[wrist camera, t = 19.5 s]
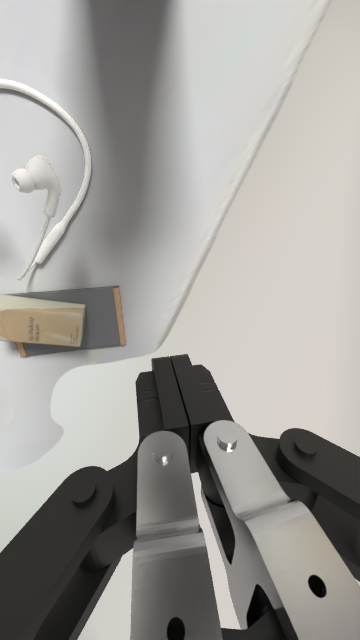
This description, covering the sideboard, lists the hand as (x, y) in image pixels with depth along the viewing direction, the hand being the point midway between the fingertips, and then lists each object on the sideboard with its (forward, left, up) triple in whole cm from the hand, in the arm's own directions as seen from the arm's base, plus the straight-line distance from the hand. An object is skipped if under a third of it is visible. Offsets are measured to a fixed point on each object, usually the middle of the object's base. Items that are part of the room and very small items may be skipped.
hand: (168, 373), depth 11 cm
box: (+10, -8, -26) cm, 30 cm away
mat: (+11, -11, -29) cm, 33 cm away
